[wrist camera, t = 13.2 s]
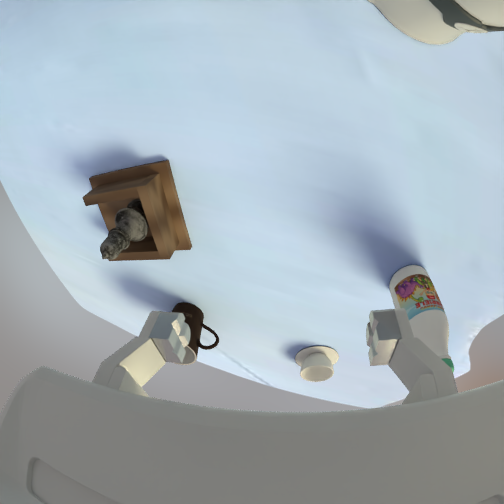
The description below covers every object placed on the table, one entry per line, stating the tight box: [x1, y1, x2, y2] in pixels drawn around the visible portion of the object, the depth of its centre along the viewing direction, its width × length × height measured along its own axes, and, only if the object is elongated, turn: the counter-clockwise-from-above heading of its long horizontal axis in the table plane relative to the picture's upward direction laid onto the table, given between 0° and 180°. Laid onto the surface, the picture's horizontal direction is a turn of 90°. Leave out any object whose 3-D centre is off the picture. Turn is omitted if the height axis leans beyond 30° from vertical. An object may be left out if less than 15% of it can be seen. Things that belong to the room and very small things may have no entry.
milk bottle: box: [389, 265, 454, 372], centre depth 37 cm, size 8×8×20 cm
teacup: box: [295, 346, 339, 382], centre depth 59 cm, size 10×10×5 cm
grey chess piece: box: [100, 199, 149, 260], centre depth 38 cm, size 6×6×12 cm
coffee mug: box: [172, 302, 219, 365], centre depth 53 cm, size 12×9×10 cm
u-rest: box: [83, 160, 192, 261], centre depth 42 cm, size 15×15×6 cm
